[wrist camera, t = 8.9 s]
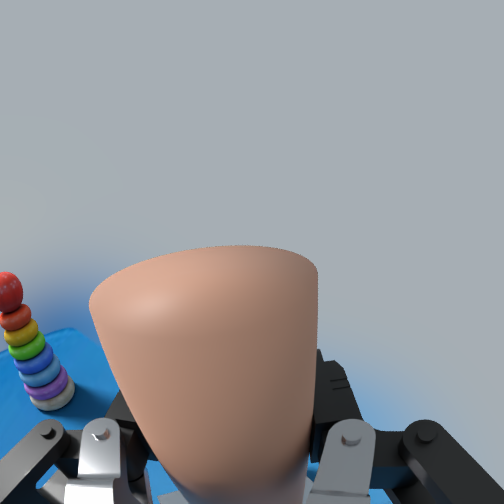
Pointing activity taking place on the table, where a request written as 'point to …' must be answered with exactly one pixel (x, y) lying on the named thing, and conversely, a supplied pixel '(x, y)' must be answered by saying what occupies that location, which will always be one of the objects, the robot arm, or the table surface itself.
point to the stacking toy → (32, 350)
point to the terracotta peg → (218, 367)
